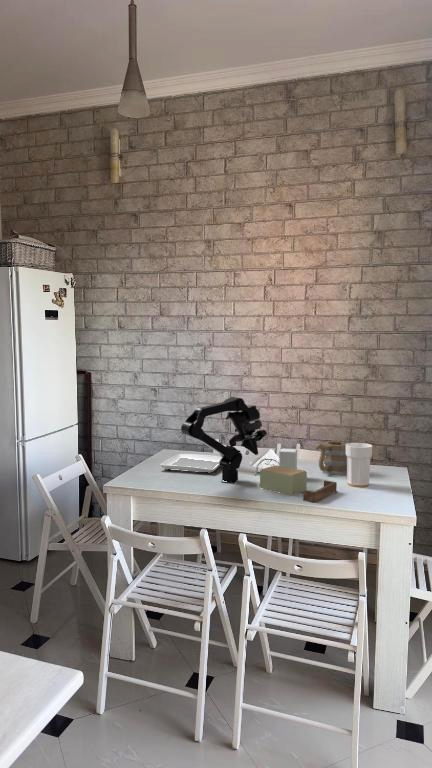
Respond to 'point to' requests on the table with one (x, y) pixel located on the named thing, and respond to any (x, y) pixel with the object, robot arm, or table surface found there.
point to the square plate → (169, 462)
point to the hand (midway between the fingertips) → (257, 454)
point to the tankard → (333, 458)
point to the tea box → (283, 479)
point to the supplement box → (288, 458)
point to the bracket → (320, 492)
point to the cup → (358, 464)
